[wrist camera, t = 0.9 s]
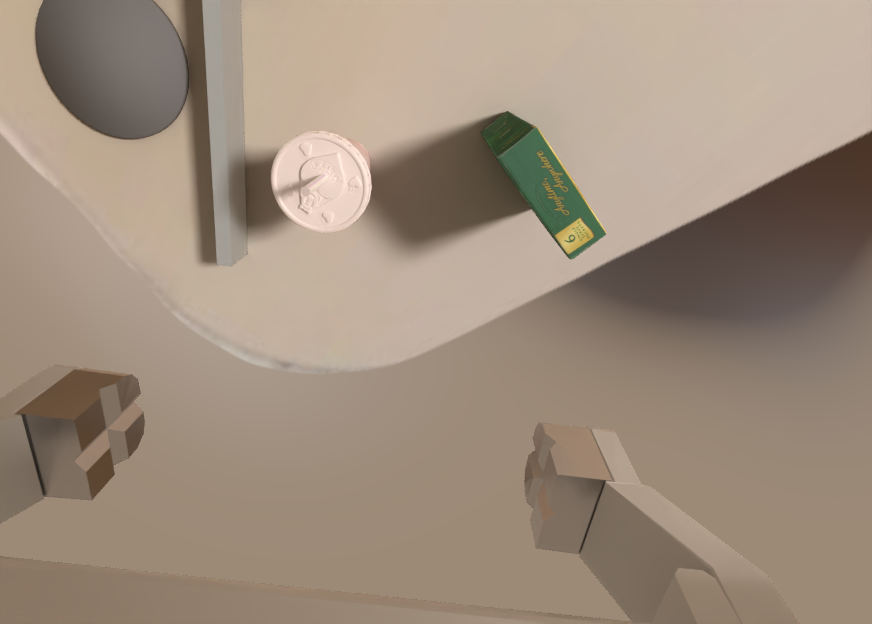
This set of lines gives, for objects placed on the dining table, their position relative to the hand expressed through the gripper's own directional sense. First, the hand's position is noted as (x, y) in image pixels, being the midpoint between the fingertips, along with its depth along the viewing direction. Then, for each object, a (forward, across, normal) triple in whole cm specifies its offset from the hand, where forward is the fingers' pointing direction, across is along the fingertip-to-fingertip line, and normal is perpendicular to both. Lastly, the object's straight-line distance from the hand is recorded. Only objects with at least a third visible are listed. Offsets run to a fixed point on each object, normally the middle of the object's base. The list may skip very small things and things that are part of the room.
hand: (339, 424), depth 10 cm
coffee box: (+33, -8, -2) cm, 34 cm away
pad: (+33, +24, -5) cm, 41 cm away
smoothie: (+33, +6, 0) cm, 34 cm away
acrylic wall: (+33, +15, -2) cm, 36 cm away
